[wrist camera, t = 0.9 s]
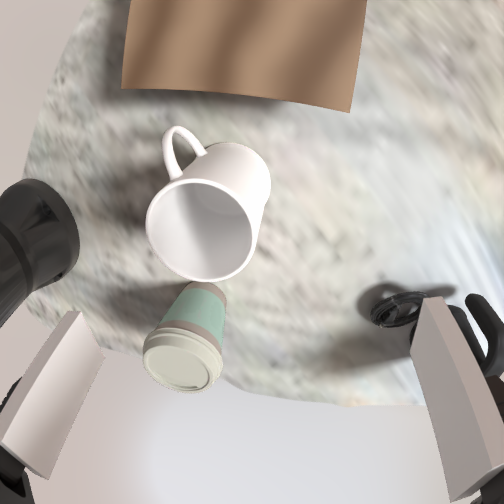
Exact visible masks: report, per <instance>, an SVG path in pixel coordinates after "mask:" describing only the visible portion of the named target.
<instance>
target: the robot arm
mask: <svg viewBox="0 0 504 504" xmlns="http://www.w3.org/2000/svg"><path fill="white" fill-rule="evenodd" d="M79 249H80V242H79V234H78V230H77V226H76V223H75V220H74V218H73V216H72V213H71V211H70V210H69V208H68V206H67V205H66V203H65V202H64V200H63V199H62V198H61V196H60V195H59V194H58V193H57V192H56V191H55V190H54V189H53V188H51V187H50V186H49V185H47V184H46V183H44V182H42V181H39V180H36V179H24V180H21V181H19V182H17V183H15V184H14V185H12V186H10V187H9V188H8V189H7V190H5V191H4V192H3V194H2V195H1V196H0V328H1V327H2V325H3V324H4V323H5V321H7V319H8V318H9V317H10V316H11V315H12V314H13V312H14V311H15V310H16V309H17V308H18V307H19V305H20V304H21V303H22V302H23V301H24V300H25V299H26V298H27V297H28V296H29V295H30V294H31V293H32V292H34V291H36V290H38V289H40V288H43V287H45V286H47V285H49V284H52V283H54V282H56V281H59V280H60V279H62V278H63V277H64V276H65V275H66V274H67V273H68V272H69V271H70V270H71V269H72V268H73V267H74V265H75V264H76V262H77V259H78V256H79ZM410 355H411V358H412V361H413V364H414V367H415V370H416V373H417V376H418V379H419V382H420V385H421V388H422V391H423V395H424V398H425V401H426V404H427V408H428V411H429V415H430V418H431V421H432V425H433V429H434V433H435V437H436V440H437V444H438V448H439V452H440V456H441V460H442V464H443V469H444V474H445V478H446V483H447V488H448V493H449V498H450V502H454V501H457V500H460V499H462V498H465V497H468V496H471V495H472V494H474V493H475V492H476V491H478V490H479V489H480V492H481V496H479V497H478V498H477V499H475V500H474V501H472V502H471V504H504V382H503V381H502V380H501V379H500V378H499V377H498V376H497V375H493V376H489V377H485V378H484V376H483V374H482V372H481V370H480V367H479V365H478V363H477V361H476V359H475V357H474V355H473V353H472V351H471V349H470V347H469V345H468V343H467V341H466V339H465V337H464V335H463V333H462V332H461V330H460V328H459V326H458V324H457V322H456V320H455V319H454V317H453V315H452V313H451V311H450V310H449V308H448V306H447V304H446V303H445V301H444V299H443V297H442V296H440V297H432V298H424V299H423V303H422V307H421V311H420V315H419V319H418V323H417V327H416V331H415V335H414V338H413V342H412V345H411V349H410ZM104 360H105V356H104V355H103V353H102V351H101V349H100V347H99V345H98V343H97V342H96V340H95V338H94V336H93V334H92V332H91V330H90V328H89V326H88V324H87V322H86V320H85V318H84V316H83V314H82V312H81V311H67V313H66V314H65V315H64V317H63V318H62V320H61V321H60V322H59V324H58V325H57V326H56V328H55V329H54V331H53V332H52V334H51V335H50V337H49V338H48V339H47V341H46V342H45V344H44V345H43V347H42V348H41V349H40V351H39V352H38V354H37V355H36V357H35V358H34V360H33V362H32V363H31V364H30V366H29V367H28V369H27V371H26V372H25V374H24V375H23V377H21V378H20V379H19V380H18V381H17V382H15V383H14V384H13V385H12V387H11V389H10V390H9V392H8V393H7V397H5V398H4V400H3V402H2V405H0V504H35V503H34V499H33V495H32V491H31V487H30V483H29V479H28V475H27V473H26V472H25V471H24V468H25V467H27V468H28V469H29V470H30V471H32V472H33V473H34V474H36V475H38V476H40V477H43V478H45V479H47V480H49V478H50V475H51V473H52V470H53V468H54V466H55V463H56V461H57V459H58V456H59V453H60V452H61V449H62V447H63V445H64V442H65V440H66V438H67V436H68V433H69V431H70V429H71V427H72V425H73V423H74V421H75V418H76V416H77V414H78V412H79V410H80V408H81V405H82V404H83V402H84V399H85V397H86V395H87V393H88V391H89V389H90V387H91V385H92V383H93V381H94V379H95V377H96V375H97V373H98V371H99V369H100V367H101V366H102V364H103V361H104Z"/></svg>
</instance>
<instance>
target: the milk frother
mask: <svg viewBox="0 0 504 504" xmlns="http://www.w3.org/2000/svg"><path fill="white" fill-rule="evenodd" d="M424 298H430V297H429V296H428V295H427V294H425V293H422V292H406V293H401V294H398V295H395V296H392V297H389V298H387V299H385V300H383V301H381V302H380V303H378V304H377V305H376V306H375V307H374V308H373V309H372V311H371V320H372V322H373V323H374V324H376V325H378V326H380V328H383V327H387V328H391V327H399V326H403V325H405V324H408V323H410V322H412V321H414V320H416V319H418V318H419V315H420V311H421V307H422V303H423V299H424ZM408 302H417V303H419V304H420V306H419V308H418V309H417V310H416V311H415V312H413V313H412V314H410V315H408V316H405V317H403V318H400V319H395V318H396V315H397V314H398V312H399V308H400V307H402V304H403V303H408ZM465 304H466V306H467V308H468V309H469V311H470V313H471V314H472V316H473V318H474V319H475V321H476V322H477V324H478V326H479V327H480V329H481V331H482V332H483V334H484V335H485V337H486V339H487V341H488V353H487V356H486V357H485V355H484V353H483V350H482V348H481V346H480V344H479V342H478V339H477V338H476V336H475V334H474V332H473V330H472V328H471V326H470V323H469V322H468V320H467V316H466V314H465V312H464V311H463V310H462V309H461V308H459V307H456V306H448V308H449V310H450V311H451V313H452V315H453V317H454V319H455V320H456V322H457V324H458V326H459V328H460V330H461V332H462V333H463V335H464V337H465V339H466V341H467V343H468V345H469V347H470V349H471V351H472V353H473V355H474V357H475V359H476V361H477V363H478V365H479V367H480V370H481V372H482V374H483V376H484V378H485V377H489V376H493V375H497V376H498V377H500V376H501V374H502V373H503V372H504V323H503V322H502V321H501V319H500V318H499V317H498V315H497V314H496V312H495V311H494V310H493V308H492V307H491V306H490V305H489V303H488V302H487V301H486V299H485V298H484V297H483V296H481V295H478V294H469V295H468V296H467V297H466V299H465ZM394 319H395V320H394ZM417 323H418V322H417ZM417 323H416V325H415V326H414V327H413V329H412V331H411V334H410V344H411V345H412V342H413V338H414V335H415V331H416V327H417Z"/></svg>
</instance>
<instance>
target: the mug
mask: <svg viewBox="0 0 504 504" xmlns="http://www.w3.org/2000/svg"><path fill="white" fill-rule="evenodd" d="M173 133H177V134H179V135H180V136H182V137H183V138H184V139H185V140H186V141H187V142H188V143H189V144H190V146H191V147H192V148H193V150H194V151H195V153H196V156H197V157H196V158H195V159H194V161H193V162H192V163H191V164H190V165H189V166H188V167H186V168H185V169H184V170H183V171H181V169H180V168H179V166H178V163H177V161H176V158H175V155H174V151H173V146H172V135H173ZM162 153H163V158H164V162H165V166H166V169H167V171H168V174H169V177H170V182H169V183H168V184H167V185H166V186H165V187H164V188H163V189H161V190H160V191H159V192H158V193H157V195H156V196H155V197H154V198H153V200H152V202H151V203H150V205H149V208H148V211H147V215H146V223H145V226H146V234H147V238H148V242H149V244H150V246H151V248H152V250H153V252H154V254H155V255H156V256H157V258H158V259H159V260H160V261H161V262H162V263H163V264H164V265H165V266H166V267H167V268H168V269H170V270H171V271H172V272H174V273H176V274H177V275H179V276H181V277H184V278H186V279H189V280H193V281H198V282H216V281H221V280H225V279H227V278H230V277H232V276H234V275H235V274H237V273H238V272H239V271H241V270H242V269H243V268H244V267H245V266H246V265H247V263H248V262H249V260H250V259H251V257H252V255H253V252H254V249H255V246H256V241H257V237H258V232H259V228H260V223H261V219H262V214H263V210H264V205H265V203H266V202H267V199H268V197H269V194H270V188H271V180H270V174H269V171H268V168H267V166H266V164H265V163H264V161H263V160H262V159H261V157H260V156H259V155H258V154H257V153H256V152H254V151H253V150H251V149H250V148H248V147H246V146H244V145H241V144H237V143H231V142H225V143H218V144H214V145H212V146H210V147H208V148H206V149H204V148H203V146H202V145H201V144H200V142H199V141H198V140H197V138H196V137H195V136H194V135H193V134H192V133H191V132H190V131H188V130H187V129H186V128H184V127H182V126H173V127H170V128H169V129H168V130H166V132H165V133H164V135H163V138H162Z"/></svg>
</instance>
